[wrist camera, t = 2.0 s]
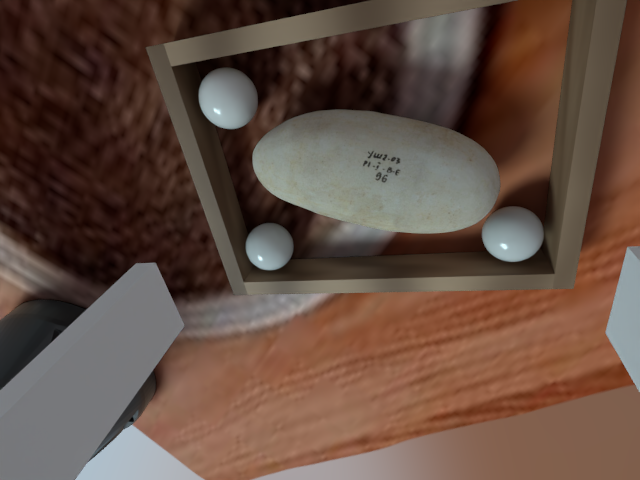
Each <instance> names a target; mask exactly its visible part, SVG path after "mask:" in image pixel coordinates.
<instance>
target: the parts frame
mask: <svg viewBox="0 0 640 480" xmlns="http://www.w3.org/2000/svg"><path fill="white" fill-rule="evenodd" d="M511 1H516V0H369V1H365V2H360V3H355V4H350V5H345V6H341V7H336V8H331V9H326V10H322V11H317V12H312V13H307V14H303V15H298V16H293V17H288V18H283V19H279V20H274V21H269V22H264V23H260V24H255V25H250V26H245V27H241V28H236V29H231V30H226V31H222V32H217V33H212V34H207V35H202V36H198V37H193V38H188V39H183V40H179V41H174V42H169V43H164V44H160V45H155V46H150V47H145V48H146V50H147V53H148V56H149V59H150V62H151V64H152V67H153V70H154V73H155V75H156V78H157V81H158V84H159V87H160V89H161V92H162V95H163V98H164V101H165V103H166V106H167V109H168V112H169V115H170V117H171V120H172V123H173V126H174V129H175V131H176V134H177V137H178V140H179V143H180V145H181V148H182V151H183V154H184V157H185V159H186V162H187V165H188V168H189V171H190V173H191V176H192V179H193V182H194V185H195V187H196V190H197V193H198V196H199V199H200V201H201V204H202V207H203V210H204V212H205V215H206V218H207V221H208V224H209V226H210V229H211V232H212V235H213V238H214V240H215V243H216V246H217V249H218V252H219V254H220V257H221V260H222V263H223V266H224V268H225V271H226V274H227V277H228V280H229V282H230V285H231V288H232V291H233V294H234V295H256V294H310V293H365V292H420V291H475V290H529V289H573V288H574V283H575V278H576V272H577V267H578V261H579V256H580V251H581V245H582V240H583V235H584V229H585V224H586V218H587V213H588V208H589V202H590V197H591V192H592V186H593V181H594V175H595V170H596V165H597V159H598V154H599V148H600V143H601V138H602V132H603V127H604V122H605V116H606V111H607V105H608V100H609V95H610V89H611V84H612V79H613V73H614V68H615V62H616V57H617V52H618V46H619V41H620V36H621V30H622V25H623V19H624V14H625V9H626V3H627V0H572V8H571V16H570V24H569V32H568V40H567V48H566V56H565V64H564V71H563V79H562V87H561V95H560V103H559V111H558V119H557V127H556V135H555V143H554V150H553V158H552V166H551V174H550V182H549V190H548V198H547V206H546V214H545V222H544V239H543V242H542V245H541V249H539V250H538V251H537V252H536V253H535V254H534V255H533V256H531V257H530V258H528V259H525V260H522V261H518V262H508V261H503V260H500V259H498V258H496V257H494V256H493V255H492V254H491V253H489V251H481V252H457V253H434V254H410V255H386V256H362V257H338V258H315V259H291V260H289V261H288V262H287V263H286V264H285V265H284V266H283V267H281V268H279V269H276V270H263V269H260V268H258V267H257V266H255V265H254V264H253V263H252V262H251V261H250V260H249V258H248V256H247V253H246V241H247V238H248V236H249V235H248V232H247V229H246V225H245V222H244V219H243V216H242V212H241V209H240V206H239V202H238V199H237V196H236V193H235V189H234V186H233V183H232V179H231V176H230V173H229V170H228V166H227V163H226V160H225V157H224V153H223V150H222V147H221V143H220V140H219V137H218V134H217V130H216V127H215V124H213V123H212V122H210V121H209V120H208V119H207V118H206V116H205V115H204V113H203V112H202V110H201V107H200V104H199V95H198V94H199V88H200V85H201V82H202V81H201V78H200V75H199V71H198V68H197V65H196V62H197V61H203V60H208V59H213V58H218V57H224V56H229V55H234V54H239V53H245V52H250V51H255V50H260V49H265V48H271V47H276V46H281V45H286V44H292V43H297V42H302V41H307V40H312V39H318V38H323V37H328V36H333V35H339V34H344V33H349V32H354V31H360V30H365V29H370V28H375V27H380V26H386V25H391V24H396V23H401V22H407V21H412V20H417V19H422V18H427V17H433V16H438V15H443V14H448V13H454V12H459V11H464V10H469V9H475V8H480V7H485V6H490V5H495V4H501V3H506V2H511Z"/></svg>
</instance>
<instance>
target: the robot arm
mask: <svg viewBox="0 0 640 480" xmlns="http://www.w3.org/2000/svg"><path fill="white" fill-rule="evenodd" d="M184 326H185V325H184V323H183V321H182V319H181V317H180V314H179V312H178V310H177V308H176V306H175V304H174V301H173V299H172V297H171V295H170V293H169V291H168V288H167V286H166V284H165V282H164V280H163V278H162V275H161V273H160V271H159V269H158V267H157V265H156V263H136V264H135V265H134V266H133V267H132V268H130V269H129V270H128V271H127V272H126V273H125V274H124V275H123V276H122V277H121V278H120V279H119V280H118V281H117V282H115V283H114V284H113V285H112V286H111V287H110V288H109V289H108V290H107V291H106V292H105V293H104V294H103V295H102V296H101V297H99V298H98V299H97V300H96V301H95V302H94V303H93V304H92V305H91V306H90V307H89V308H88V309H87V310H85V309H83V308H80V307H78V306H75V305H72V304H68V303H65V302H60V301H54V300H33V301H28V302H25V303H23V304H21V305H19V306H18V307H17V308H15V309H14V310H13V311H11V312H10V313H9V314H8V315H6V316H5V317H4V318H2V319H1V320H0V480H75V479H76V478H77V476H78V475H79V473H80V472H81V471H82V469H83V468H84V466H85V465H86V464H87V462H89V461H90V460H91V459H92V458H93V457H95V456H96V455H97V454H98V453H99V452H100V451H101V450H103V449H104V448H105V447H106V446H107V445H108V444H109V443H110V442H111V441H113V440H114V439H115V438H116V437H117V436H118V435H119V434H120V433H121V431H122V430H123V429H125V428H127V427H129V426H130V425H132V424H133V423H134V422H135V421H136V420H137V419H138V418H139V417H140V416H141V414H142V413H143V411H144V410H145V408H146V407H147V405H148V404H149V402H150V401H151V399H152V397H153V396H154V393H155V389H156V380H155V375H154V372H153V369H154V368H155V367H156V365H157V364H158V362H159V361H160V360H161V358H162V357H163V355H164V354H165V353H166V351H167V350H168V348H169V347H170V346H171V344H172V343H173V341H174V340H175V339H176V337H177V336H178V334H179V333H180V332H181V330H182V329H183V327H184ZM606 335H607V336H608V338H609V340H610V342H611V343H612V345H613V347H614V349H615V350H616V352H617V354H618V355H619V357H620V359H621V361H622V362H623V364H624V366H625V368H626V369H627V371H628V373H629V375H630V376H631V378H632V380H633V381H634V383H635V385H636V387H637V388H638V390H639V392H640V246H636V247H627V251H626V255H625V259H624V263H623V266H622V270H621V274H620V278H619V282H618V286H617V290H616V294H615V298H614V302H613V305H612V309H611V313H610V317H609V321H608V325H607V329H606Z"/></svg>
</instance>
